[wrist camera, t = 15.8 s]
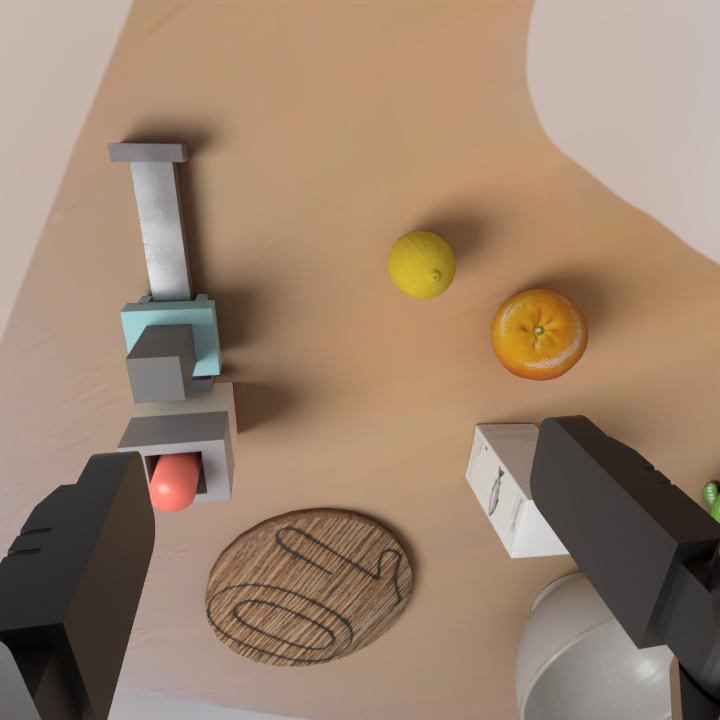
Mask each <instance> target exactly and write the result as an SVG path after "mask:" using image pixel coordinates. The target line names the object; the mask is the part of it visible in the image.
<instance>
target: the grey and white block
mask: <svg viewBox="0 0 720 720" xmlns="http://www.w3.org/2000/svg"><path fill="white" fill-rule="evenodd" d="M237 436H238V432H237V423H236V413H235V404H234V395H233V385H232V382H225V383H214V384H213V389H212V391H210V392H195V393H188V394H187V397H186V400H179V401H165V402H150V403H138V404H137V406H136V408H135V410H134V412H133V415H132V417H131V420H130V422H129V424H128V426H127V429H126V431H125V433H124V435H123V437H122V439H121V441H120V443H119V446H118V448H117V449H118V452H128V451H138V452H139V453H140V454H141V456H142V459H143V464H144V469H145V473H146V478H147V483H148V488H149V487H150V484H151V481H152V478H153V475H154V472H155V469H156V466H157V462H158V459H159V456H160V455H161V454H173V453H185V452H197V451H201V452H202V463H201V468H200V473H199V479H198V484H197V489H196V494H195V498H194V501H193V502H192V504H193V503H203V502H213V501H223V500H231V493H232V483H233V473H234V467H235V458H236V447H237ZM152 507H155V506H154V505H153V504H152Z"/></svg>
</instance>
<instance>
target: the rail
mask: <svg viewBox="0 0 720 720" xmlns="http://www.w3.org/2000/svg"><path fill="white" fill-rule="evenodd" d="M108 147H109V153H110V158H111V162H130V165H131V171H132V177H133V183H134V189H135V195H136V200H137V206H138V212H139V218H140V224H141V230H142V236H143V242H144V248H145V254H146V260H147V266H148V272H149V278H150V284H151V290H152V296H153V302H175V301H195V300H194V292H193V284H192V277H191V269H190V261H189V254H188V246H187V239H186V231H185V223H184V216H183V208H182V200H181V193H180V185H179V178H178V170H177V162H185V161H188V160H189V153H188V145H187V143H110V144H108ZM214 380H215V375H205V376H193V377H192V380H191V384H190V387H189V390H188V393H195V392H210V391H212V389H213V384H214Z"/></svg>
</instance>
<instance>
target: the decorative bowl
mask: <svg viewBox="0 0 720 720" xmlns="http://www.w3.org/2000/svg"><path fill="white" fill-rule="evenodd" d="M673 656H674V654H673V653H672V651H671V650H670V649H669V647H668V646H667V645H662V646H656V647H650V648H644V649H638V648H637V647H636V646H635V644H634V643H633V641H632V640H631V639H630V637H629V636H628V635H627V633H626V632H625V630H624V629H623V628H622V626H621V625H620V623H619V622H618V621H617V619H616V618H615V616H614V615H613V614H612V612H611V611H610V609H609V608H608V607H607V605H606V604H605V602H604V601H603V600H602V598H601V597H600V595H599V594H598V593H597V591H596V590H595V588H594V587H593V586H592V584H591V583H590V582H589V580H588V579H587V577H586V576H585V575H584V573H583V572H577V573H573V574H569V575H566V576H564V577H561V578H559V579H558V580H556V581H554V582H553V583H551V584H550V585H548V586H547V587H546V588H545V589H544V590H543V591H542V592H541V593H540V594H539V595H538V596H537V598H536V599H535V601H534V603H533V605H532V608H531V614H530V616H529V617H528V619H527V621H526V623H525V625H524V627H523V630H522V632H521V635H520V639H519V642H518V647H517V652H516V659H515V691H516V700H517V706H518V711H519V716H520V720H671V719H672V715H671V695H670V675H669V669H670V664H671V661H672V659H673Z"/></svg>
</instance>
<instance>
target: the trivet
mask: <svg viewBox="0 0 720 720" xmlns="http://www.w3.org/2000/svg"><path fill="white" fill-rule="evenodd" d="M411 583H412V572H411V569H410V566H409V563H408V559H407V556H406V553H405V550H404V547H403V546H402V544H401V543H400V542H399V540H398V539H397V538H396V536H395V535H394V534H393V533H392V531H391V530H389V529H388V528H386V527H385V526H383V525H382V524H380V523H379V522H377V521H376V520H374V519H373V518H370V517H367V516H364V515H361V514H358V513H356V512H353V511H350V510H341V509H330V508H314V509H305V510H297V511H291V512H288V513H285V514H282V515H279V516H276V517H273V518H270V519H267V520H264V521H262V522H261V523H259V524H257V525H256V526H254V527H252V528H250V529H249V530H247V531H245V532H243V533H242V534H240V535H239V536H238V537H237V538H236V539H235V540H234V541H233V542H232V543H231V544H230V545H229V546H228V547H227V548H226V549H225V550H224V551H222V553H221V555H220V556H219V558H218V560H217V561H216V563H215V565H214V566H213V568H212V570H211V572H210V576H209V581H208V586H207V591H206V598H205V607H206V612H207V618H208V623H209V624H210V626H211V628H212V629H213V631H214V632H215V634H216V636H217V637H218V639H219V640H220V641H222V642H223V643H224V644H225V645H226V646H228V647H229V648H230V649H231V650H233V651H234V652H235V653H237V654H240V655H242V656H244V657H246V658H249V659H251V660H253V661H255V662H260V663H265V664H270V665H275V666H309V665H315V664H321V663H327V662H331V661H334V660H336V659H339V658H342V657H345V656H348V655H351V654H353V653H355V652H357V651H359V650H360V649H362V648H364V647H366V646H368V645H370V644H371V643H373V642H374V641H375V640H377V639H378V638H379V637H380V636H382V635H383V634H384V633H385V632H386V631H388V630H389V629H390V628H391V627H392V625H393V624H394V623H395V621H396V620H397V619H398V618H399V616H400V615H401V614H402V612H403V611H404V608H405V606H406V604H407V601H408V599H409V596H410V594H411Z"/></svg>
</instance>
